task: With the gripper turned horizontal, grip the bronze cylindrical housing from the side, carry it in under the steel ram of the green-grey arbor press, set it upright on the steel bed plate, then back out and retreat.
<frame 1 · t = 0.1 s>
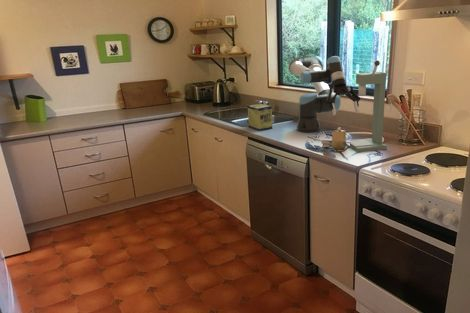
hand: (346, 113, 213), 15 cm above the countertop, tool tilted 35°, fingers open, 13 cm apart
arbor press: (365, 146, 201), on the countertop
housing: (338, 149, 200), on the countertop
protein box: (260, 128, 258), on the countertop
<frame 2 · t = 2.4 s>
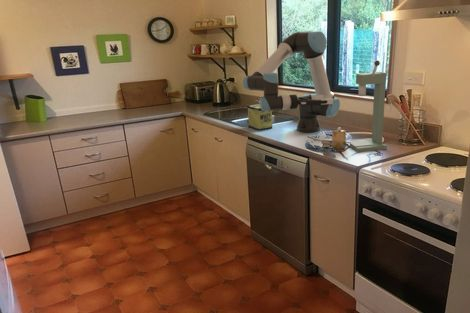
hand: (327, 99, 198), 26 cm above the countertop, tool horizontal, fingers open, 13 cm apart
nothing on the countertop moved.
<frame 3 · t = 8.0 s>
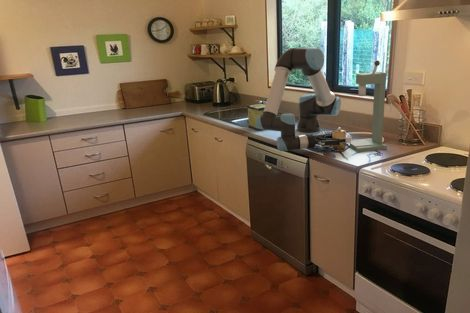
hand: (347, 137, 198), 6 cm above the countertop, tool horizontal, fingers closed on housing, 7 cm apart
housing: (338, 149, 200), on the countertop, touching gripper
everything else where it was.
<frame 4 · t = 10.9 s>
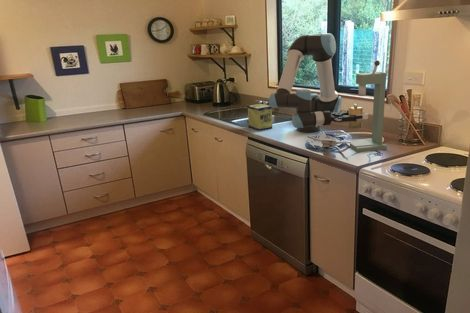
hand: (364, 114, 195), 18 cm above the countertop, tool horizontal, fingers closed on housing, 7 cm apart
housing: (354, 126, 196), point 12 cm above the countertop, touching gripper
everything else where it was.
when the fingers open (10 cm above the countertop, at t = 13.7 s): housing drops 2 cm, resting on arbor press.
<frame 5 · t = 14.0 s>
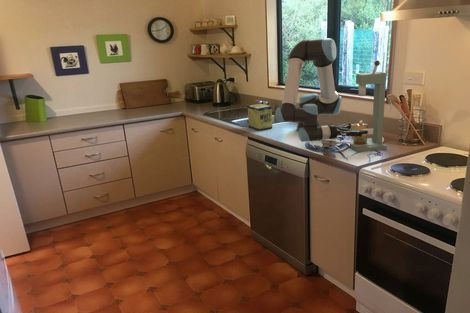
hand: (367, 128, 198), 10 cm above the countertop, tool horizontal, fingers open, 11 cm apart
housing: (360, 142, 200), point 2 cm above the countertop, touching arbor press
everything else where it was.
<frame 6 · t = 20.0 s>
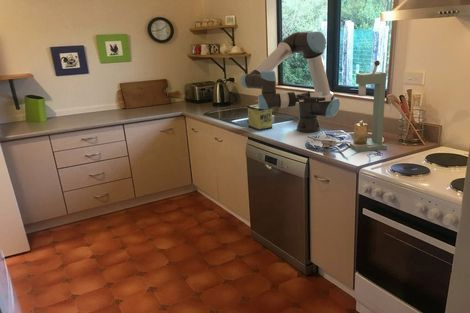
hand: (326, 96, 197), 28 cm above the countertop, tool horizontal, fingers open, 13 cm apart
nothing on the countertop moved.
at the end: housing 0.1 cm from the target spot on the arbor press, point 2.5 cm above the arbor press's base; housing tilted 2°; the gripper is holding nothing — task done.
